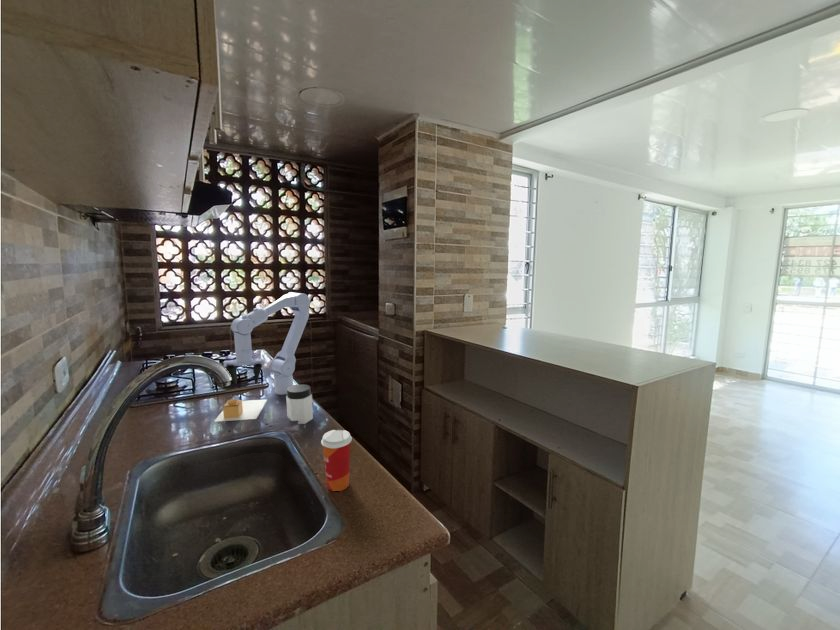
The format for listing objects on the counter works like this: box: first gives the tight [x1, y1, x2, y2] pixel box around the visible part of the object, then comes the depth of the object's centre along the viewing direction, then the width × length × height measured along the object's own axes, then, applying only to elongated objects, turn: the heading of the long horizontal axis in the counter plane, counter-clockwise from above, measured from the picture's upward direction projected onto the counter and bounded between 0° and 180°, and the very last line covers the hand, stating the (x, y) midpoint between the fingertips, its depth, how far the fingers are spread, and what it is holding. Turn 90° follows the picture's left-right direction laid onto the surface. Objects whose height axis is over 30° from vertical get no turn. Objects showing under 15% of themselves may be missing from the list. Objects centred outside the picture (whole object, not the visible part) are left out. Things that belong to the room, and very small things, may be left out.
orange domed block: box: [222, 398, 243, 418], centre depth 136 cm, size 5×5×6 cm
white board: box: [213, 399, 268, 423], centre depth 141 cm, size 18×14×2 cm
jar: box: [285, 383, 314, 425], centre depth 135 cm, size 9×8×12 cm
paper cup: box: [320, 429, 353, 492], centre depth 97 cm, size 8×8×14 cm
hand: (246, 383), depth 146 cm, fingers open, 7 cm apart
